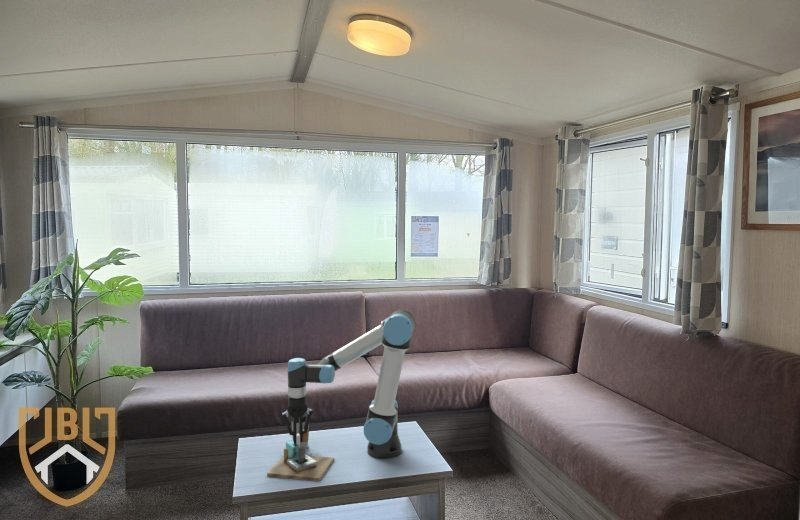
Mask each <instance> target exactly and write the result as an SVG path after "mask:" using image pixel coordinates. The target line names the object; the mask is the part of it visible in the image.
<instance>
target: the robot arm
mask: <svg viewBox="0 0 800 520" xmlns="http://www.w3.org/2000/svg"><path fill="white" fill-rule="evenodd" d="M415 328H416V321H415V316H414V314H412V313H411V312H410V311H408V310H406V309H397V310H395V311H393V312H392V313H391V314H390V315H389V316H388V317H386V318H384V319H383V320H381V322H380V324H379V325H377V326H376V327H374V328H372V329H370V330H369V331H367V332H366V333H364V334H363V335H360V336H359V337H358V338H356V339H354V340H352V341H351V342H349V343H347V344H346V345H344V346H342V347H340V348H339V349H336V350H335V351H333V352H332V353H330V354H328V355H326V356H324V357H322V359H321V360H320V361H319V362H318V363H316V364H310V363H307V360H306V359H305V358H302V357H295V358H291V359H289V360H288V362H287V395H288V397H287V402H288V403H287V404H288V405H287V408H286V411H284V412H282V413H281V415H282V417H283V419H284V420H285V424H286V427H287V431H288V434H289V436H292V435H293V436H292V441H293V442H294V443H296V444H297V445H299V447H300V442H302V441H303V434H304V433H307V429H308V425H309V426H310V421H311V416H312V415H313V412H314V411H313V409H312V408H308V406H307V383H310V384H311V383H313V384H325V385H326V384H332V383H333V382H334V380H335V378H336V372H337V371H338V370H340V369H341V368H343V367H344V366H346V365H348V364H350V363H352V362H354V361H355V360H357V359H359V358H360V357H362V356H364V355H365V354H367V353H369V352H371V351H372V350H374V349H375V348H378V347H379V346H381V345H382V346H383V347H384V348H383V354H382V360H381V362H380V363H381V364H380V367H379V373H378V379H377V383H376V389H375V395H374V399H372V401H371V404H369V406H368V409H367V410H368V412H367V415H366V420H365V423H364V425H363V430H362V431H363V435H364V437H365V439H366V440H367V441H368V442H367V447H366V448H367V450H366V451H367V454H368V455H369V456H371V457H374V458H377V459H390V458H395V457H397V456H399V455H400V454H401V453H402V451H403V450H402V443H401V440H400V436H399V432H398V430H399V429H398V426H399V425H398V421H399V419H398V415H399V414H398V409H399V406H398V405H399V404H398V401H397V400H396V398H397V393H398V388H399V384H400V379H401V375H402V370H403V369H402V367H403V365H404V364H403V363H404V359H405V354H406V352H407V351H408V350H410V348H411V342H412V338H413V333H414V330H415ZM305 412H307V416H306V420H305V424H304V429H303V422H302V420H303V415H304V414H305ZM289 415H290V417H293V431H292V426H291V425H290V421H289ZM297 417H299V434H297V429H296V420H297Z"/></svg>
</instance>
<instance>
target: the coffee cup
mask: <svg viewBox="0 0 800 520" xmlns="http://www.w3.org/2000/svg"><path fill="white" fill-rule="evenodd" d="M306 416H307V411H306V412H305V414H304V415H303V420H302V422H303V429H304V424H305V420H306ZM290 421H291V422H290V423H291V431H293V417H292V416H290ZM296 429H297V434H299V417H297V420H296ZM309 432H310V424H309V425H308V429H307V433H304V434H303V441H302V442H300V446H304V447H305V450H306V449H307V448H308V446H309V445H308V444H309V437H310V436H309V434H310V433H309ZM291 436H292V437H293V435H291Z"/></svg>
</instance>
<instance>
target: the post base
mask: <svg viewBox="0 0 800 520" xmlns="http://www.w3.org/2000/svg"><path fill="white" fill-rule="evenodd" d="M305 454H306V449H305V447H304V446H300V447H298V464H302V463H305ZM308 456H309V457H311V458H312V459H314V460H315V461H317V465H316V466H313V467H310V468H307V469H304V470H301V471H298V472H297V471H295V470H294V469H293V468H291V467H290V466H289V465H288V464H287V460H289V459H290V458H288V448H286V447H284V448H283V456H282V457H280V458H279V460H278V461H277V462H276V463H275V464H274V465H273V466H272V467H271V468H270V469H269V470H268V472H267V473H266V476H267V477H270V478H271V477H272V478H281V479H282V478H284V479H295V480H306V481H315V482H321V480H322V479H323V478H324V476H325V475H326V473H327V472H328V470H329V469H330V468H331V466H332V465H333V463H334V462H335V457H328V456H319V455H308Z"/></svg>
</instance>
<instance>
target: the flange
mask: <svg viewBox="0 0 800 520" xmlns="http://www.w3.org/2000/svg"><path fill="white" fill-rule="evenodd" d="M298 447H299V445H297V444H296V443H294V442H293V440H287V441H286V442H285V448H288V458H290V459H289V460H287V464H288V465H289V466H290V467H291V468H293V469H294V470H295V471H297V472H298V471H301V470H304V469H307V468H310V467H313V466H316V465H317V461H315V460H314V459H312V458H311V457H309V456H310V455H308V454H306V453H305V463H302V464H298Z"/></svg>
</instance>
